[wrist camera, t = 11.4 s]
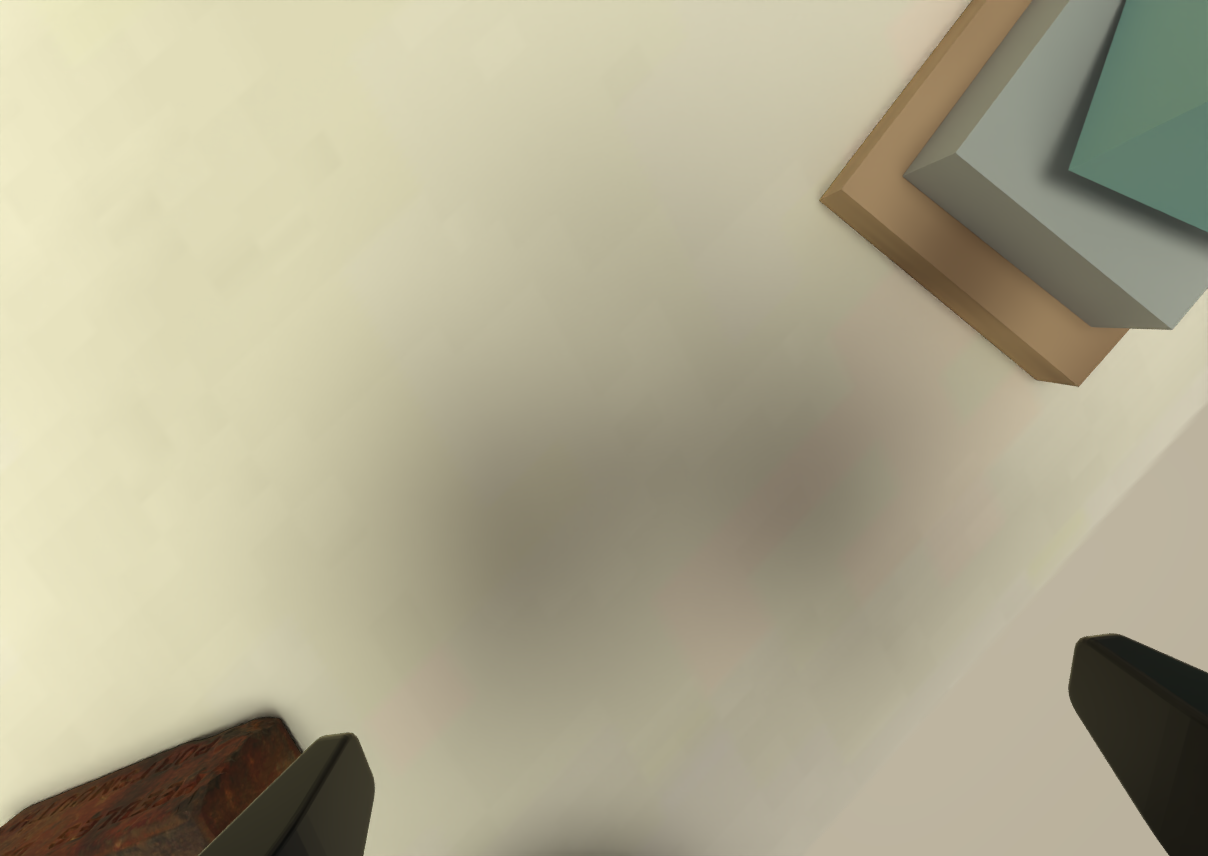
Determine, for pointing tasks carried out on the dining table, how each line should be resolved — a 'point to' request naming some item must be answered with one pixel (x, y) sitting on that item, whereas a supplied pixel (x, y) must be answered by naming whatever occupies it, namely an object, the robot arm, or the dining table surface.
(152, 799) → the brick
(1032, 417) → the dining table surface
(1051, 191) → the tower middle block
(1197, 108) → the tall teal block
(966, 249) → the tower base block
